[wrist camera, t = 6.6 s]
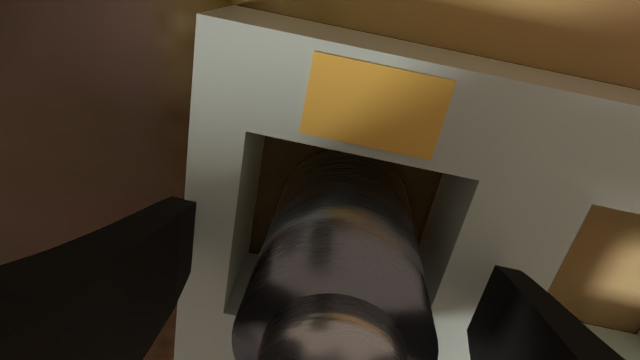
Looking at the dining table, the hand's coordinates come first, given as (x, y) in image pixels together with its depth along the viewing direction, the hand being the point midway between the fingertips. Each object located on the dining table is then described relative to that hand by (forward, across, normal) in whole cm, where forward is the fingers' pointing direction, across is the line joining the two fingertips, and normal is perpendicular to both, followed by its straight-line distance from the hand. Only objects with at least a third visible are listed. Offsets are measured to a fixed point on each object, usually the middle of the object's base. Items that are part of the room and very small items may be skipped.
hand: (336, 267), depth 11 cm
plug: (+4, 0, 0) cm, 4 cm away
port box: (+4, -4, 0) cm, 5 cm away
